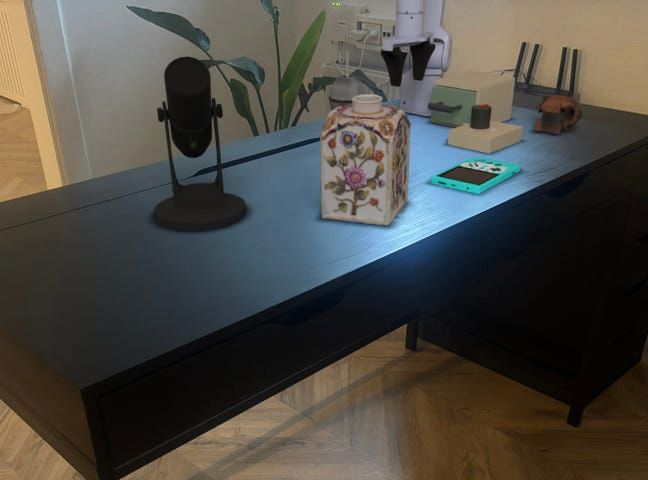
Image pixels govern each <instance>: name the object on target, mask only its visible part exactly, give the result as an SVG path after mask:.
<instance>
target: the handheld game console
mask: <svg viewBox="0 0 648 480" xmlns="http://www.w3.org/2000/svg"><path fill="white" fill-rule="evenodd" d="M520 171H521V164H518V163H513V162H508V161H503V160H498V159H493V158H486V157H469V158H467V159H466V160H463V161H461V162H459V163H457V164H455V165H453V166H451V167H449V168H447V169H444V170H443V171H440V172H438V173H437V174H436V173H435V174H434V175H432V176H431V177H430V184H432V185H436V186H441V187H445V188H449V189H454V190H459V191H463V192H467V193H471V194H477V195H478V194H481V193H483V192H485V191H487V190H489V189H490V188H492V187H495V186H496V185H498V184H499V183H502V182H503V181H505V180H506V179H509V178H511V177H512V176H514V175H516V174H518V173H519V172H520Z"/></svg>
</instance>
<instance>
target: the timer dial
mask: <svg viewBox="0 0 648 480" xmlns="http://www.w3.org/2000/svg"><path fill="white" fill-rule="evenodd" d="M491 109H492V107H491V106H488V104H483V105H474V106H472V110H471V121H470V127H471V128H474V129H488V128H489V127H490V119H491Z"/></svg>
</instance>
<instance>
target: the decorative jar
mask: <svg viewBox="0 0 648 480" xmlns="http://www.w3.org/2000/svg"><path fill="white" fill-rule="evenodd" d="M383 100H384V99H383V96H380V95H378V94H371V93H370V94H367V93H366V95H358V96H355V97H353V98H352V104H350V105H344V106H341V107H337V108H335V109H333V110H330V111H329V113H327V115H326V118H325V120H324V123H323V126H322V129H321V132H320V134H319V167H320V168H319V170H320V171H319V173H320V176H319V177H320V209H321V210H320V211H321V218H322V219H323V220H334V221H340V222H341V221H342V222H350V223H359V224H367V225H376V226H385V227H387V226H390V224H391V223H392V222H393V220H394V219H395V218H396V217H397V215H398V214H399V213H400V212H401V210H402V209H403V208H404V206H405V205H406V204H407V202H408V197H409V195H408V194H409V178H410V177H409V175H410V149H411V147H410V146H411V143H410V142H411V126H412V122H411V121H410V118H409V117H408V115H407V112H404V111H402V110H401V109H399V108H400V107H399V108H398V107H396V106H394V105H387V104H383V103H384V102H383Z"/></svg>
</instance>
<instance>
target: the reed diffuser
mask: <svg viewBox="0 0 648 480" xmlns="http://www.w3.org/2000/svg"><path fill="white" fill-rule="evenodd" d="M349 52H350V51H349V50H346V51H345V74H343V75H341V76H339V77H337V78H336V79H335V80H334V81H333V83H332V84H331V86H330V88H329V96H328V100H329V107H330V111H332V110H333V109H335V108H337V107H341V106H344V105H350V104H352V98H353V97H355V96H358V95H367V91H366V88H365V85H364V84H363V82H362V81H361V79H360V78H358V77H357V76H355V75H352V74H350V64H349V63H350V62H349V61H350V56H349V55H350V53H349Z"/></svg>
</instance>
